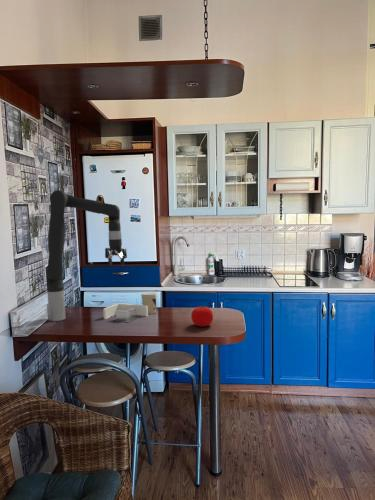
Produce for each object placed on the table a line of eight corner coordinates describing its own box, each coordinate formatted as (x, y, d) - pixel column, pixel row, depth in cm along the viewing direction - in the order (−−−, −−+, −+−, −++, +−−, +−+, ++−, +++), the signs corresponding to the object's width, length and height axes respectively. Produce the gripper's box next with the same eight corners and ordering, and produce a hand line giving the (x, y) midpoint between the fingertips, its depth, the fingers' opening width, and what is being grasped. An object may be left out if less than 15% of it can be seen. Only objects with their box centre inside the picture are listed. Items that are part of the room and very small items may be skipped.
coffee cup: (156, 314, 225) (155, 294, 224) (141, 314, 225) (140, 295, 224) (158, 310, 234) (157, 291, 233) (143, 310, 235) (142, 291, 233)
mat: (113, 320, 214) (113, 320, 214) (125, 315, 224) (125, 314, 224) (128, 322, 209) (128, 322, 209) (139, 317, 220) (139, 316, 220)
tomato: (214, 328, 195) (214, 308, 194) (192, 329, 194) (191, 309, 193) (211, 321, 207) (211, 303, 206) (190, 322, 206) (190, 304, 205)
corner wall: (103, 318, 219) (103, 308, 218) (118, 312, 232) (118, 302, 231) (134, 322, 209) (133, 312, 209) (148, 315, 222) (147, 305, 222)
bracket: (126, 320, 213) (126, 311, 212) (116, 319, 216) (115, 310, 215) (136, 315, 222) (135, 307, 221) (126, 314, 225) (125, 306, 224)
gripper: (128, 238, 223) (129, 264, 225) (109, 237, 230) (110, 264, 231) (121, 239, 217) (122, 266, 218) (101, 238, 223) (102, 265, 225)
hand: (116, 265), depth 225 cm, fingers open, 8 cm apart
